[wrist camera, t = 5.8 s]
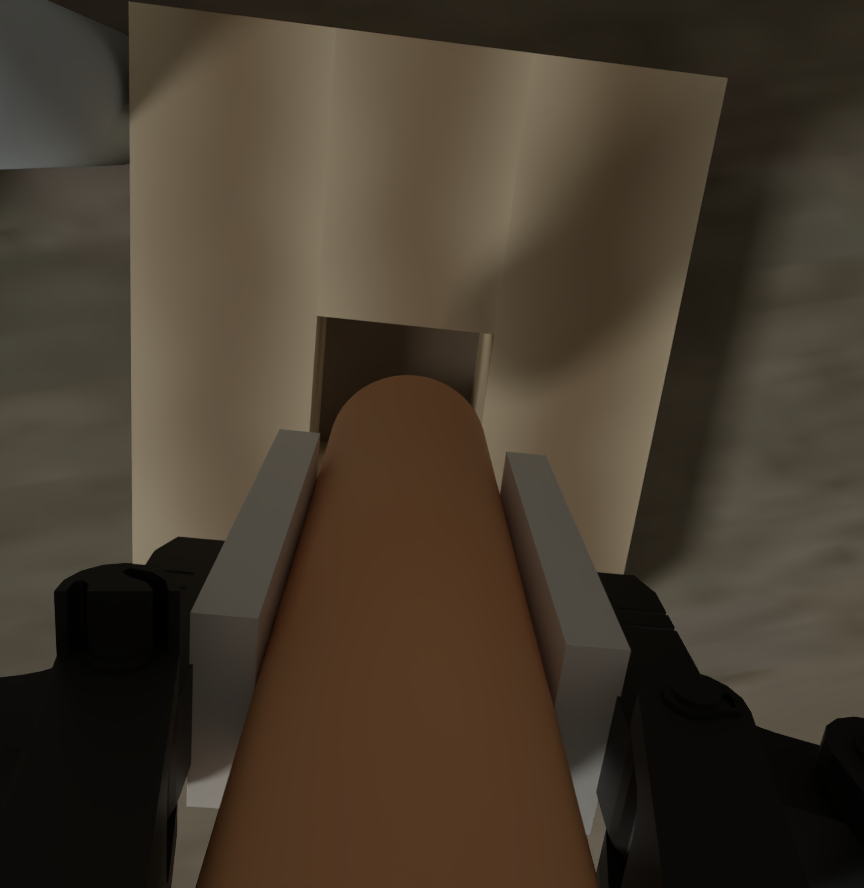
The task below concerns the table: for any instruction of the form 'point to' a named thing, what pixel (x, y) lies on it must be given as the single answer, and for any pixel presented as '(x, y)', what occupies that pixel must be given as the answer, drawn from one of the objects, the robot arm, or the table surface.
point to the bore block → (399, 252)
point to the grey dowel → (61, 88)
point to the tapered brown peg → (402, 680)
